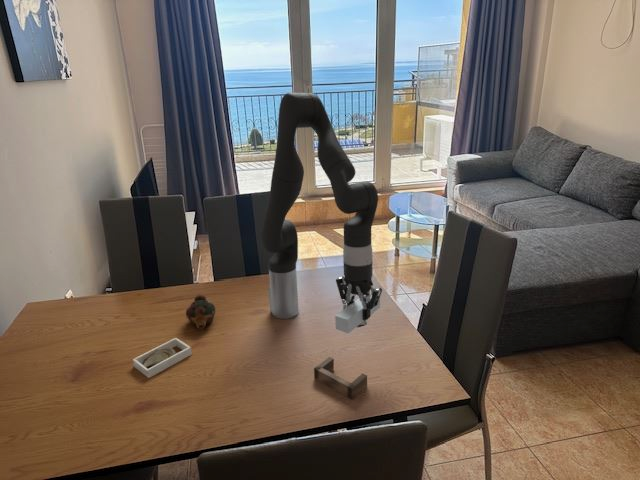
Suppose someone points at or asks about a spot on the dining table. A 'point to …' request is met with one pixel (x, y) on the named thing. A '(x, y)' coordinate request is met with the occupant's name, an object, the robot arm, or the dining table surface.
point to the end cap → (339, 379)
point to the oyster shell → (159, 356)
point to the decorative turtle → (200, 311)
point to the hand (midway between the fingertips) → (358, 316)
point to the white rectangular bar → (352, 316)
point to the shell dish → (166, 363)
